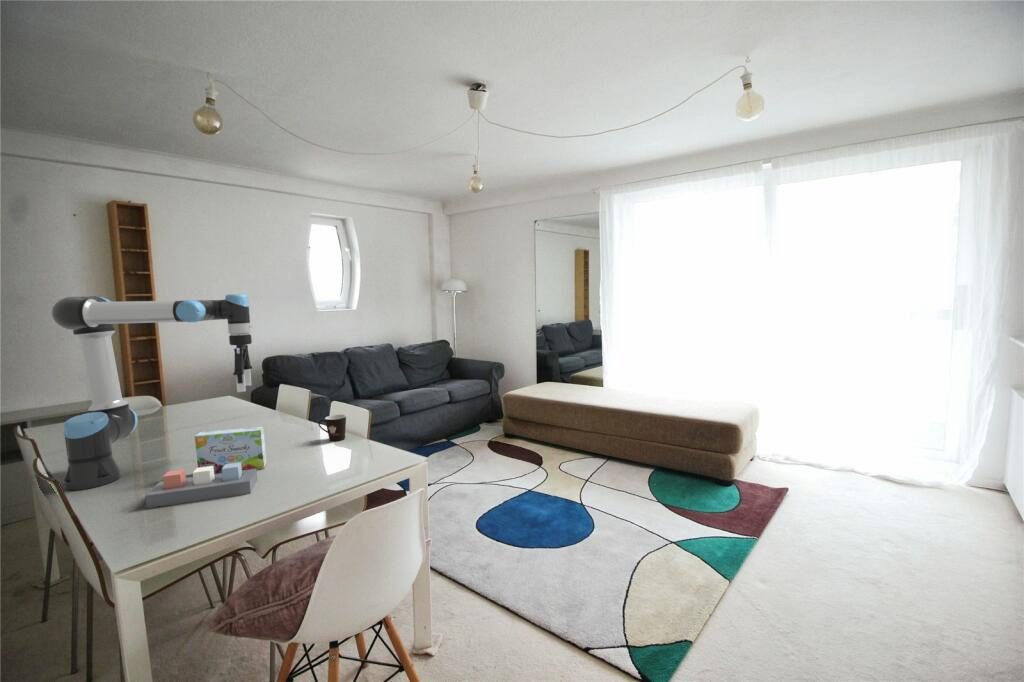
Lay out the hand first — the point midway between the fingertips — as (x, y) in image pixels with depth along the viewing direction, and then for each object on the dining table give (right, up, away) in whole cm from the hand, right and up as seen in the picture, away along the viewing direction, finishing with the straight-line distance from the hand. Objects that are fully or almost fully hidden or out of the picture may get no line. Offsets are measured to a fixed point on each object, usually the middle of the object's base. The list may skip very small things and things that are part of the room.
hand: (244, 388), depth 188 cm
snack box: (+3, -29, -13) cm, 32 cm away
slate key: (+13, -26, -31) cm, 43 cm away
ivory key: (+6, -27, -33) cm, 43 cm away
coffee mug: (+27, -24, +22) cm, 43 cm away
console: (+6, -30, -33) cm, 45 cm away
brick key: (-2, -27, -36) cm, 45 cm away
